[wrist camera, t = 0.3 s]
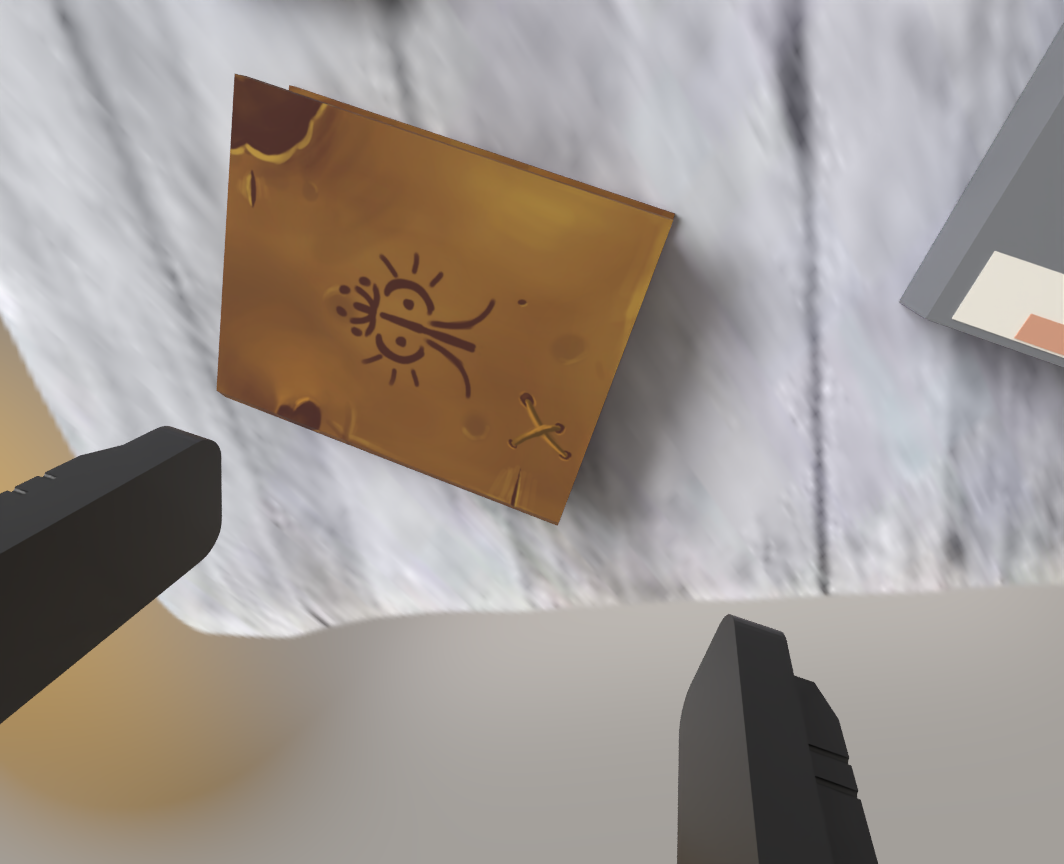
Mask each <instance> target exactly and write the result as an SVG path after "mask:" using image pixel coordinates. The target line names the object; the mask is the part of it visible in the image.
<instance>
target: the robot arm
mask: <svg viewBox="0 0 1064 864" xmlns="http://www.w3.org/2000/svg"><path fill="white" fill-rule="evenodd" d="M221 523H222V493H221V451H220V448H219V446H218V445H217V443H216V442H214V441H212V440H209V439H206V438H203V437H200V436H197V435H194V434H191V433H188V432H185V431H182V430H179V429H176V428H173V427H170V426H163V427H159V428H157V429H155V430H153V431H150V432H148V433H146V434H144V435H142V436H140V437H138V438H136V439H134V440H132V441H130V442H128V443H126V444H124V445H121V446H117V447H113V448H109V449H105V450H101V451H97V452H93V453H89V454H85V455H81V456H78V457H76V458H74V459H72V460H70V461H68V462H66V463H64V464H62V465H60V466H57V467H56V468H53V469H51V470H49V471H47V472H45V475H44V476H43V477H40V476H36V477H34V478H32V479H30V480H28V481H26V482H24V483H22V484H20V485H18V486H16V487H15V489H14V491H12V492H10V491H5V492H3V493H1V494H0V724H1V723H2V722H3V721H4V720H6V719H7V718H8V717H9V716H10V715H12V714H13V713H14V712H16V711H17V710H18V709H19V708H20V707H22V706H23V705H24V704H25V703H27V702H28V701H29V700H30V699H32V698H33V697H34V696H35V695H36V694H38V693H39V692H40V691H41V690H43V689H44V688H45V687H46V686H48V685H49V684H50V683H51V682H52V681H54V680H55V679H56V678H57V677H59V676H60V675H61V674H62V673H64V672H65V671H66V670H67V669H69V668H70V667H71V666H72V665H73V664H75V663H76V662H77V661H78V660H80V659H81V658H82V657H83V656H85V655H86V654H87V653H88V652H89V651H91V650H92V649H93V648H94V647H96V646H97V645H98V644H99V643H100V642H102V641H103V640H104V639H106V638H107V637H108V636H109V635H110V634H112V633H113V632H114V631H115V630H117V629H118V628H119V627H120V626H122V625H123V624H124V623H125V622H126V621H128V620H129V619H130V618H131V617H133V616H134V615H135V614H136V613H138V612H139V611H140V610H141V609H142V608H144V607H145V606H146V605H147V604H149V603H150V602H151V601H152V600H154V599H155V598H156V597H157V596H159V595H160V594H161V593H162V592H163V591H165V590H166V589H167V588H168V587H170V586H171V585H172V584H173V583H175V582H176V581H177V580H178V579H179V578H181V577H182V576H183V575H184V574H186V573H187V572H188V571H189V570H191V569H192V568H193V567H194V566H196V565H197V564H198V563H199V562H200V561H202V560H203V559H204V558H205V557H206V556H207V554H208V553H209V552H210V551H211V549H212V548H213V546H214V544H215V542H216V540H217V538H218V536H219V533H220V529H221ZM848 759H849V755H848V752H847V748H846V745H845V741H844V737H843V734H842V730H841V726H840V723H839V720H838V718H837V716H836V715H835V713H834V712H833V710H832V709H831V707H830V706H829V704H828V703H827V701H826V699H825V698H824V696H823V695H822V693H821V692H820V690H819V689H818V687H817V686H816V684H815V683H814V682H812V681H809V680H805V679H803V678H800V677H797V676H794V673H793V669H792V664H791V659H790V655H789V650H788V645H787V640H786V637H785V635H784V634H783V632H781V631H778V630H775V629H772V628H769V627H766V626H763V625H760V624H757V623H754V622H751V621H748V620H745V619H742V618H739V617H736V616H733V615H730V614H728V615H726V616H725V617H724V618H723V620H722V622H721V623H720V625H719V627H718V629H717V631H716V633H715V635H714V637H713V639H712V641H711V644H710V646H709V648H708V650H707V652H706V654H705V656H704V658H703V660H702V662H701V664H700V666H699V668H698V671H697V673H696V675H695V677H694V679H693V681H692V683H691V685H690V687H689V690H688V692H687V695H686V698H685V702H684V706H683V710H682V715H681V721H680V729H679V776H678V783H679V784H678V844H677V847H678V848H677V864H878V862H877V858H876V855H875V851H874V847H873V844H872V840H871V836H870V832H869V829H868V825H867V821H866V818H865V814H864V811H863V807H862V803H861V800H860V799H857V792H858V788H857V785H856V781H855V777H854V774H853V770H852V766H851V765H848Z"/></svg>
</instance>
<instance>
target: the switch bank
mask: <svg viewBox="0 0 1064 864" xmlns="http://www.w3.org/2000/svg"><path fill="white" fill-rule="evenodd" d="M899 303H901V304H902V305H904V306H906V307H907V308H909V309H910V310H912V311H914V312H915V313H917V314H918V315H920V316H921V317H923V318H925V319H927V320H930V321H933V322H935V323H938V324H941V325H944V326H947V327H950V328H953V329H955V330H958V331H961V332H964V333H967V334H970V335H972V336H975V337H978V338H981V339H984V340H987V341H990V342H992V343H995V344H998V345H1001V346H1004V347H1007V348H1010V349H1012V350H1015V351H1018V352H1021V353H1024V354H1027V355H1029V356H1032V357H1035V358H1038V359H1041V360H1044V361H1047V362H1049V363H1052V364H1055V365H1058V366H1061V367H1064V23H1063V25H1062V27H1061V28H1060V30H1059V32H1058V33H1057V35H1056V37H1055V39H1054V40H1053V42H1052V44H1051V45H1050V47H1049V49H1048V50H1047V52H1046V54H1045V55H1044V57H1043V59H1042V61H1041V62H1040V64H1039V66H1038V67H1037V69H1036V71H1035V72H1034V74H1033V76H1032V77H1031V79H1030V81H1029V83H1028V84H1027V86H1026V88H1025V89H1024V91H1023V93H1022V94H1021V96H1020V98H1019V100H1018V101H1017V103H1016V105H1015V106H1014V108H1013V110H1012V111H1011V113H1010V115H1009V116H1008V118H1007V120H1006V122H1005V123H1004V125H1003V127H1002V128H1001V130H1000V132H999V133H998V135H997V137H996V138H995V140H994V142H993V144H992V145H991V147H990V149H989V150H988V152H987V154H986V155H985V157H984V159H983V160H982V162H981V164H980V166H979V167H978V169H977V171H976V172H975V174H974V176H973V177H972V179H971V181H970V182H969V184H968V186H967V188H966V189H965V191H964V193H963V194H962V196H961V198H960V199H959V201H958V203H957V205H956V206H955V208H954V210H953V211H952V213H951V215H950V216H949V218H948V220H947V221H946V223H945V225H944V227H943V228H942V230H941V232H940V233H939V235H938V237H937V238H936V240H935V242H934V243H933V245H932V247H931V249H930V250H929V252H928V254H927V255H926V257H925V259H924V260H923V262H922V264H921V265H920V267H919V269H918V271H917V272H916V274H915V276H914V277H913V279H912V281H911V282H910V284H909V286H908V287H907V289H906V291H905V293H904V294H903V296H902V298H901V299H900V301H899Z"/></svg>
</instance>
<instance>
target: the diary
mask: <svg viewBox="0 0 1064 864" xmlns="http://www.w3.org/2000/svg"><path fill="white" fill-rule="evenodd" d="M674 215H675V213H672V212H669V211H666V210H663V209H660V208H657V207H654V206H651V205H648V204H645V203H642V202H639V201H636V200H633V199H630V198H627V197H624V196H621V195H618V194H615V193H612V192H609V191H606V190H603V189H600V188H597V187H594V186H591V185H588V184H585V183H582V182H579V181H576V180H573V179H570V178H567V177H564V176H561V175H558V174H555V173H552V172H549V171H546V170H543V169H540V168H537V167H534V166H531V165H528V164H525V163H522V162H519V161H516V160H513V159H510V158H507V157H504V156H501V155H498V154H495V153H492V152H489V151H486V150H483V149H480V148H477V147H474V146H471V145H468V144H465V143H462V142H459V141H456V140H453V139H450V138H447V137H444V136H441V135H438V134H435V133H432V132H429V131H426V130H423V129H420V128H417V127H414V126H411V125H408V124H405V123H402V122H399V121H396V120H393V119H390V118H387V117H384V116H381V115H378V114H375V113H372V112H369V111H366V110H363V109H360V108H358V107H355V106H352V105H349V104H346V103H343V102H340V101H337V100H334V99H331V98H328V97H325V96H322V95H319V94H316V93H313V92H310V91H307V90H304V89H301V88H298V87H295V86H290V85H289V90H286V89H283V88H280V87H277V86H274V85H271V84H268V83H265V82H262V81H259V80H256V79H253V78H250V77H247V76H243V75H238V74H235V78H234V95H233V113H232V130H231V148H230V165H229V183H228V200H227V218H226V235H225V253H224V270H223V288H222V305H221V323H220V340H219V358H218V375H217V391H218V392H219V393H221V394H222V395H224V396H225V397H227V398H230V399H232V400H235V401H237V402H240V403H243V404H245V405H248V406H250V407H253V408H256V409H258V410H261V411H263V412H266V413H268V414H271V415H274V416H276V417H279V418H281V419H284V420H286V421H289V422H292V423H294V424H297V425H299V426H302V427H305V428H307V429H310V430H312V431H315V432H317V433H320V434H323V435H325V436H328V437H330V438H333V439H335V440H338V441H341V442H343V443H346V444H348V445H351V446H354V447H356V448H359V449H361V450H364V451H366V452H369V453H372V454H374V455H377V456H379V457H382V458H384V459H387V460H390V461H392V462H395V463H397V464H400V465H403V466H405V467H408V468H410V469H413V470H415V471H418V472H421V473H423V474H426V475H428V476H431V477H433V478H436V479H439V480H441V481H444V482H446V483H449V484H452V485H454V486H457V487H459V488H462V489H464V490H467V491H470V492H472V493H475V494H477V495H480V496H482V497H485V498H488V499H490V500H493V501H495V502H498V503H500V504H503V505H506V506H508V507H511V508H513V509H516V510H519V511H521V512H524V513H526V514H529V515H531V516H534V517H537V518H539V519H542V520H544V521H547V522H549V523H552V524H555V525H557V526H558V523H559V521H560V518H561V515H562V513H563V510H564V507H565V505H566V502H567V500H568V497H569V494H570V492H571V489H572V486H573V484H574V481H575V478H576V476H577V473H578V471H579V468H580V465H581V463H582V460H583V457H584V455H585V452H586V449H587V447H588V444H589V442H590V439H591V436H592V434H593V431H594V428H595V426H596V423H597V420H598V418H599V415H600V412H601V410H602V407H603V405H604V402H605V399H606V397H607V394H608V391H609V389H610V386H611V383H612V381H613V378H614V376H615V373H616V370H617V368H618V365H619V362H620V360H621V357H622V354H623V352H624V349H625V346H626V344H627V341H628V339H629V336H630V333H631V331H632V328H633V325H634V323H635V320H636V317H637V315H638V312H639V310H640V307H641V304H642V302H643V299H644V296H645V294H646V291H647V288H648V286H649V283H650V280H651V278H652V275H653V273H654V270H655V267H656V265H657V262H658V259H659V257H660V254H661V251H662V249H663V246H664V244H665V241H666V238H667V236H668V233H669V230H670V228H671V225H672V222H673V218H674Z"/></svg>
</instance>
